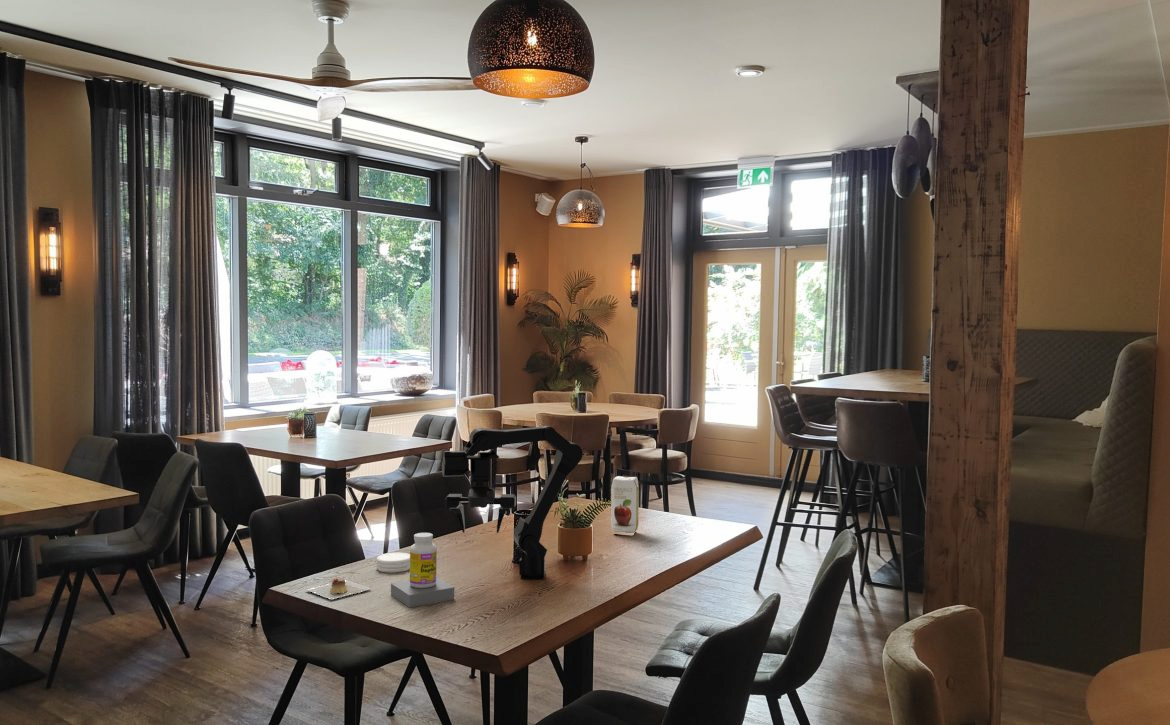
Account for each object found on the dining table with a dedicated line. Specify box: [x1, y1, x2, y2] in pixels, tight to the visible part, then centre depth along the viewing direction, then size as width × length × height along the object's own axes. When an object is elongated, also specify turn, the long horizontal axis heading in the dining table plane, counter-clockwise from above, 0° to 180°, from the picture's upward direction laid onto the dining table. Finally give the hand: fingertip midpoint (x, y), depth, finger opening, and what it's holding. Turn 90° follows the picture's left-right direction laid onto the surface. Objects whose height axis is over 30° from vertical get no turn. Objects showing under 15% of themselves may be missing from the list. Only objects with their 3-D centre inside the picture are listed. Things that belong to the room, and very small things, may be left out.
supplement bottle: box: [409, 532, 438, 588], centre depth 214 cm, size 7×7×13 cm
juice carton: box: [610, 475, 640, 533], centre depth 285 cm, size 8×9×19 cm
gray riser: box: [390, 576, 455, 608], centre depth 215 cm, size 12×12×3 cm
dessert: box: [305, 575, 372, 601], centre depth 219 cm, size 12×12×5 cm
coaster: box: [375, 552, 410, 574], centre depth 241 cm, size 10×10×4 cm
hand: (480, 532), depth 229 cm, fingers open, 9 cm apart
